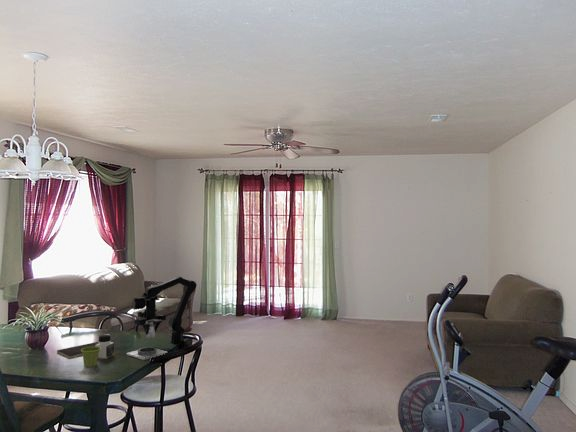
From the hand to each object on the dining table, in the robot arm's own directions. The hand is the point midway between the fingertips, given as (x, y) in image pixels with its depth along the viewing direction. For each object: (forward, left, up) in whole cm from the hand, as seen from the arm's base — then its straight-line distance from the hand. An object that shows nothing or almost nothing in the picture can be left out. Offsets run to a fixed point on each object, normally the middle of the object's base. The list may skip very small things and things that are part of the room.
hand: (150, 333), depth 270 cm
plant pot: (+41, +6, -8) cm, 42 cm away
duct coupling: (0, 0, -2) cm, 2 cm away
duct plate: (+11, +12, -8) cm, 18 cm away
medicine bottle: (+28, -3, -8) cm, 29 cm away
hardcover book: (+30, -22, -8) cm, 38 cm away
